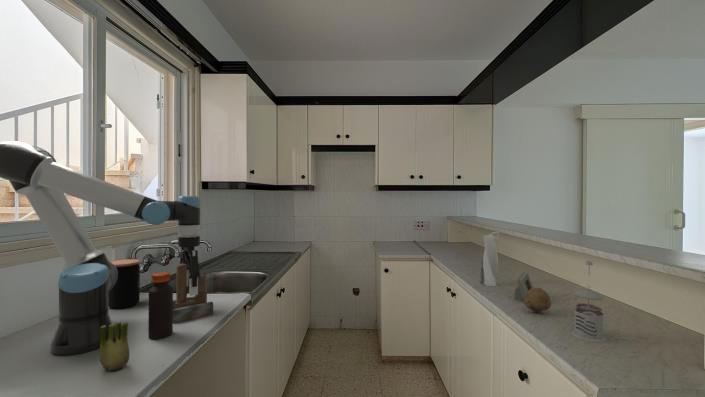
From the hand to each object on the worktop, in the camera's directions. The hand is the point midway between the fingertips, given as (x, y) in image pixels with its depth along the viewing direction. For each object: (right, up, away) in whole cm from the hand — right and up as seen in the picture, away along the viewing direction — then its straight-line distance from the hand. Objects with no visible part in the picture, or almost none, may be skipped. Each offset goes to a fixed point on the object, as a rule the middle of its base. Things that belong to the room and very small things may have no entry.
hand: (188, 291), depth 124 cm
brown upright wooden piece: (+1, -8, +1) cm, 8 cm away
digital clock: (+142, -10, +22) cm, 144 cm away
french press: (+141, -10, -16) cm, 143 cm away
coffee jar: (-31, -9, +9) cm, 34 cm away
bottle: (+1, -9, -19) cm, 21 cm away
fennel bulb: (0, -9, -39) cm, 40 cm away
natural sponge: (+137, -10, +4) cm, 138 cm away
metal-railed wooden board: (0, -9, 0) cm, 9 cm away
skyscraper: (+135, -10, +45) cm, 143 cm away
